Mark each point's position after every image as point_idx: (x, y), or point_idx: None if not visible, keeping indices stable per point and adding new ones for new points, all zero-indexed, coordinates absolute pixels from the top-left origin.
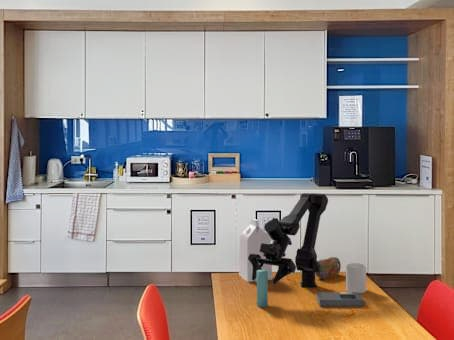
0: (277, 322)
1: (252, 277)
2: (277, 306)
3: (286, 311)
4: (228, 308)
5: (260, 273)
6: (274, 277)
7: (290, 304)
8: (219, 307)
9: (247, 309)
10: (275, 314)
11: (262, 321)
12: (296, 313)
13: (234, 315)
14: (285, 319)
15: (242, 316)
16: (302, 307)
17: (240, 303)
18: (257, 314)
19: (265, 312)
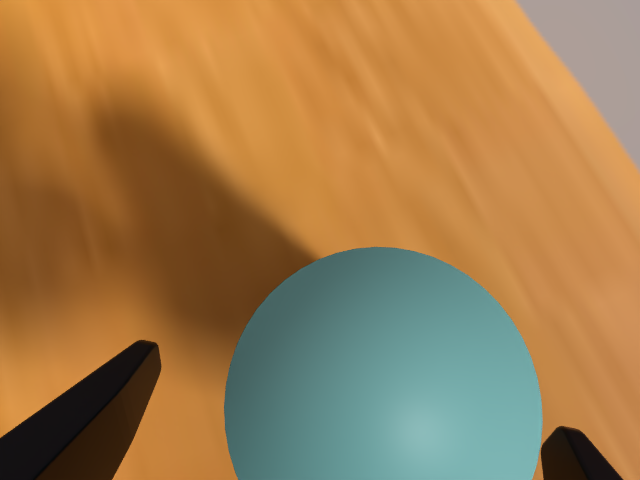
0: (102, 21)
1: (593, 453)
2: (212, 364)
3: (105, 265)
4: (550, 161)
5: (359, 250)
6: (99, 412)
7: (122, 469)
8: (625, 157)
9: (405, 194)
10: (164, 166)
11: (201, 2)
12: (19, 248)
13: (427, 39)
14: (66, 93)
15: (366, 40)
16: (3, 423)
17: (534, 320)
18: (287, 117)
19: (249, 180)
